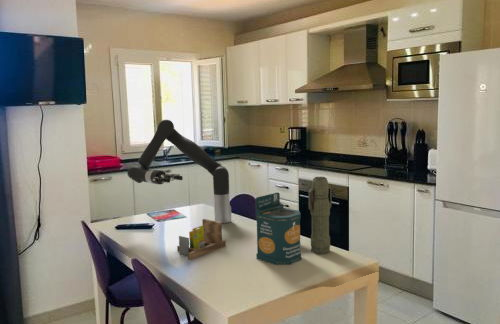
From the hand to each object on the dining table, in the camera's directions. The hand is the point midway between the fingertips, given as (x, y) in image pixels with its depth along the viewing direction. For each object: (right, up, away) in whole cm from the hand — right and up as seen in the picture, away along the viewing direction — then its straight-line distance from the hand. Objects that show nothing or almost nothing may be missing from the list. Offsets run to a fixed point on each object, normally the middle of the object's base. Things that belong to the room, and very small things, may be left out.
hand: (175, 179), depth 220 cm
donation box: (+53, -35, -28) cm, 69 cm away
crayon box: (+13, -34, -14) cm, 39 cm away
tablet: (-16, -26, +56) cm, 64 cm away
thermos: (+71, -33, -20) cm, 81 cm away
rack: (+14, -34, -14) cm, 39 cm away
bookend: (+8, -35, -21) cm, 41 cm away
